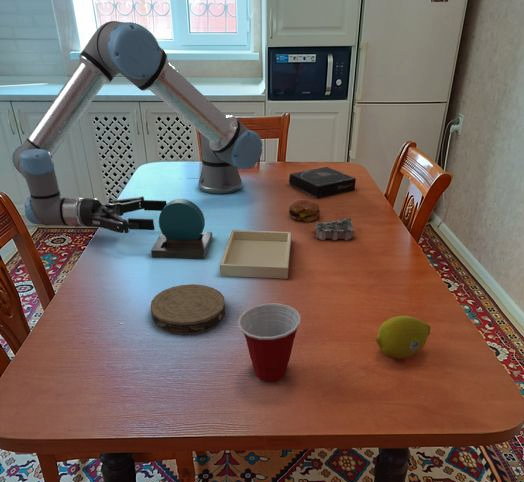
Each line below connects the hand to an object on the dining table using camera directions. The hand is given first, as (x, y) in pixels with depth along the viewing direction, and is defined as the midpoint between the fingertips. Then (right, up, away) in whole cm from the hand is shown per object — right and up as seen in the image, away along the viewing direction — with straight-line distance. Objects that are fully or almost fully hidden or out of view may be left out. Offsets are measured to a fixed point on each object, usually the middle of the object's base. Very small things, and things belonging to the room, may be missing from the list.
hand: (160, 214), depth 132 cm
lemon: (+54, -37, -37) cm, 76 cm away
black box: (+49, +21, +43) cm, 68 cm away
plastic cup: (+29, -41, -41) cm, 65 cm away
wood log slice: (+12, -29, -25) cm, 40 cm away
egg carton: (+48, -4, +9) cm, 49 cm away
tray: (+26, -12, -3) cm, 29 cm away
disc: (+6, -2, +1) cm, 6 cm away
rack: (+6, -9, +2) cm, 10 cm away
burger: (+41, +5, +20) cm, 46 cm away
